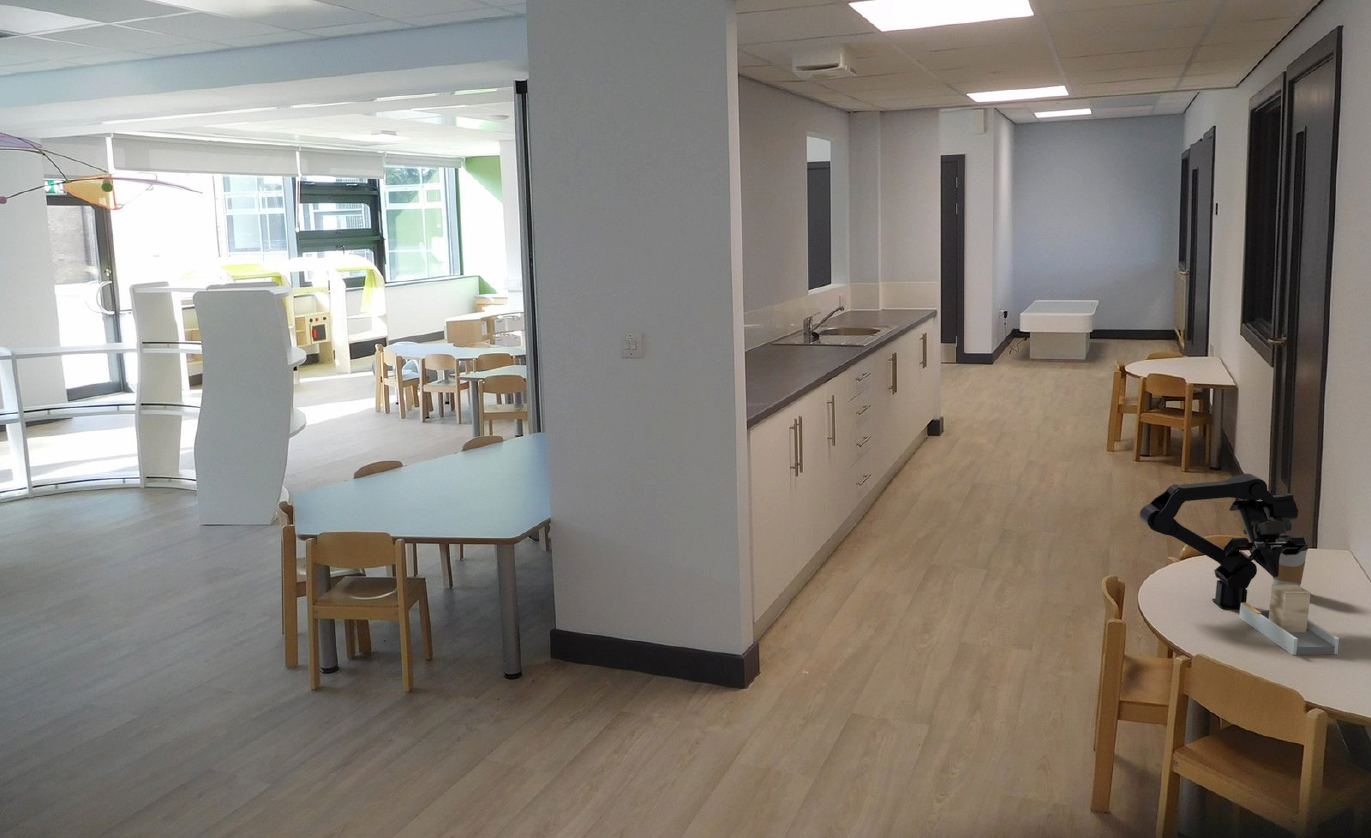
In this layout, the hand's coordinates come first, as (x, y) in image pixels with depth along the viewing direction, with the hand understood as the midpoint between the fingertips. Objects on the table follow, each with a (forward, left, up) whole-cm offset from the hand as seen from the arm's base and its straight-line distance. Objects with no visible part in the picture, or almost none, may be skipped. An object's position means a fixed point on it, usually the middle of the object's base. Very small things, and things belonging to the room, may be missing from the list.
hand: (1276, 576), depth 272 cm
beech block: (0, -7, -10) cm, 13 cm away
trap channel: (0, -7, -12) cm, 14 cm away
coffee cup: (+15, +25, -13) cm, 32 cm away
